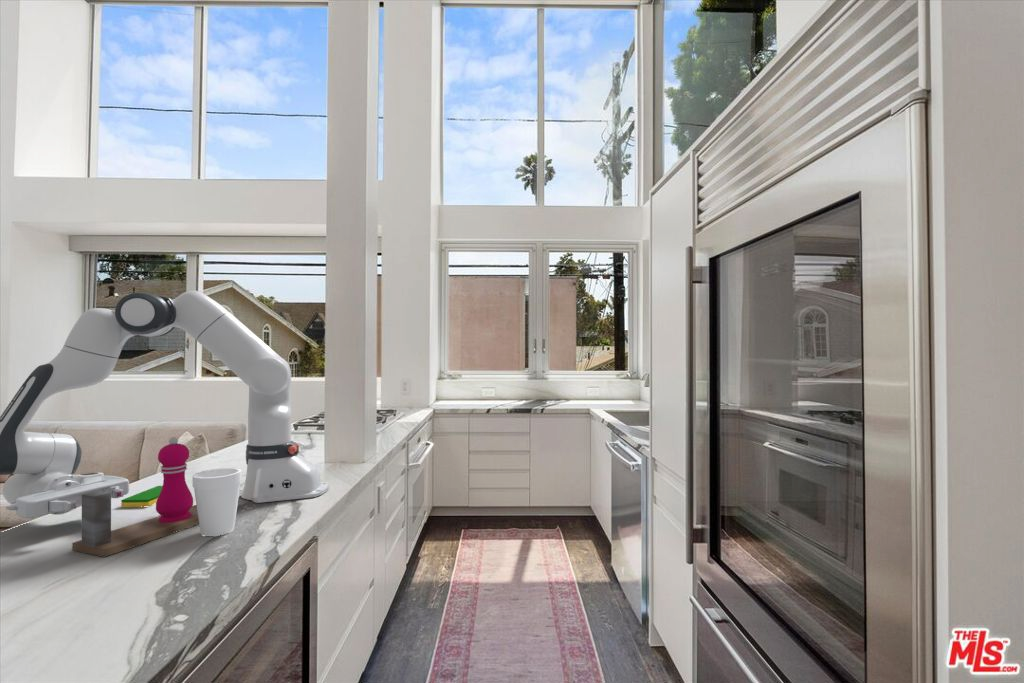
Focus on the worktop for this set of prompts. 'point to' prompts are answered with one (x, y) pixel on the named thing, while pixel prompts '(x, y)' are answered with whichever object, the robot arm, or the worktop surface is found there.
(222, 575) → the worktop surface
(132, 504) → the dish sponge
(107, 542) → the strip
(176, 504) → the pepper mill
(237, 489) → the foam cup
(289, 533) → the worktop surface
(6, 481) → the robot arm
